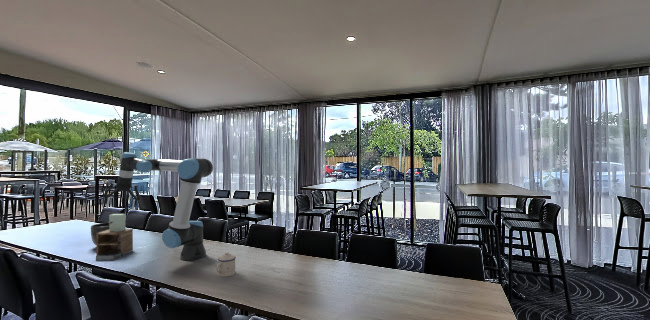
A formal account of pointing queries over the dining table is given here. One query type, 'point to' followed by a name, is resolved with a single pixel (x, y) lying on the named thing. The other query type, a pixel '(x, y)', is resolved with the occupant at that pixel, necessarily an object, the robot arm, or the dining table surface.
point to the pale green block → (117, 222)
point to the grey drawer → (110, 254)
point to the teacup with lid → (226, 265)
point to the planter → (98, 230)
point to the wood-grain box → (114, 241)
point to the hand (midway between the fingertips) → (120, 208)
